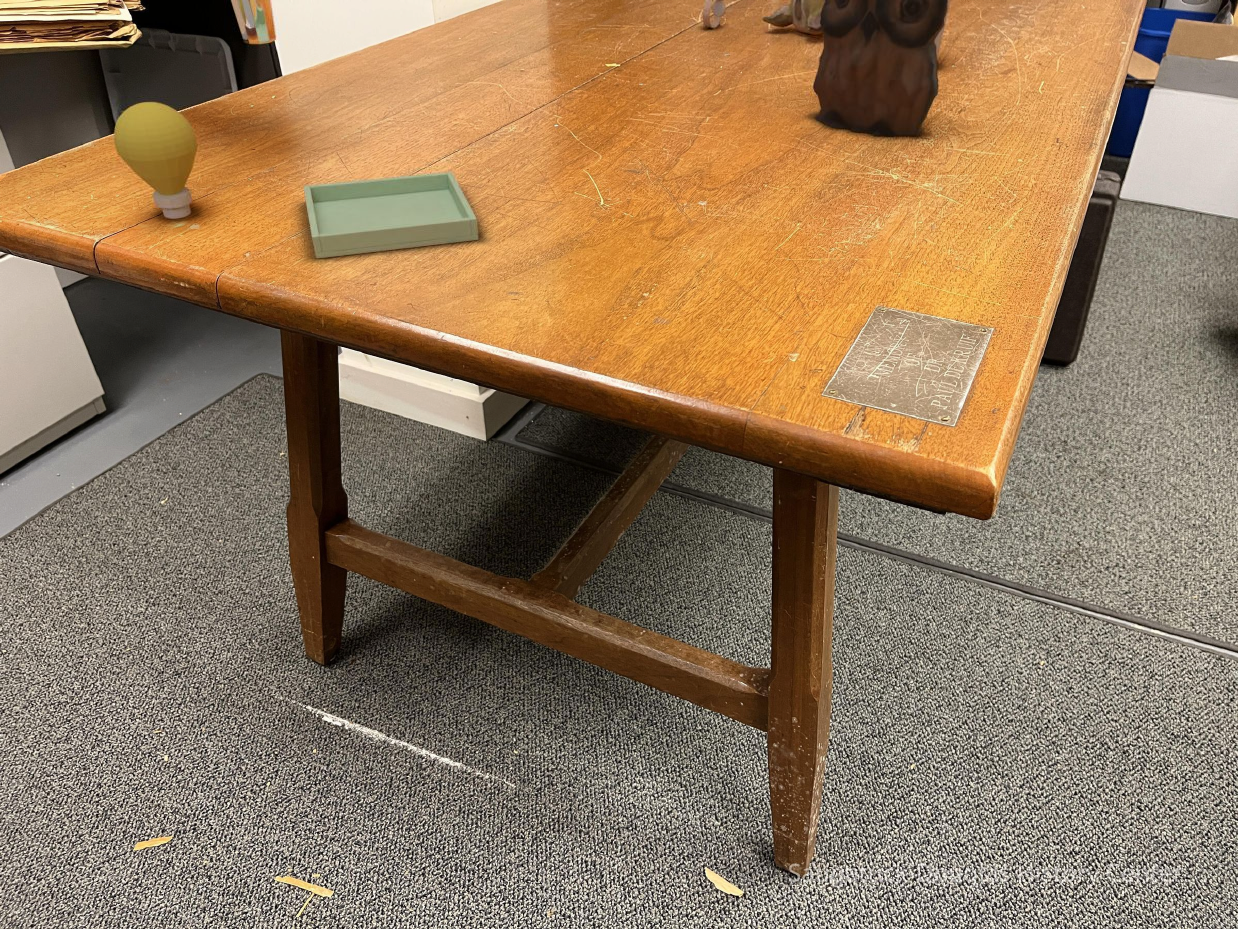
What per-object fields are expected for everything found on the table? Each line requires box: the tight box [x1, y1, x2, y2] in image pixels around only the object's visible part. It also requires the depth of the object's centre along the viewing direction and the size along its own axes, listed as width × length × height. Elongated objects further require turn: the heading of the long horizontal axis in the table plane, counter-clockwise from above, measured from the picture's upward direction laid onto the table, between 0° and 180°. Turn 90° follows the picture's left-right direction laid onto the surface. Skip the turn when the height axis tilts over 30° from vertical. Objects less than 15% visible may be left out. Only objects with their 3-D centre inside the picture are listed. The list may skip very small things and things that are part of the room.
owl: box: [812, 0, 949, 137], centre depth 105 cm, size 13×13×20 cm
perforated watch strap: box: [701, 0, 727, 29], centre depth 148 cm, size 3×5×5 cm, turn 148°
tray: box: [302, 171, 479, 260], centre depth 84 cm, size 14×12×2 cm
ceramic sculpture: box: [762, 0, 825, 36], centre depth 146 cm, size 11×9×15 cm
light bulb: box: [113, 101, 198, 220], centre depth 82 cm, size 7×7×10 cm
